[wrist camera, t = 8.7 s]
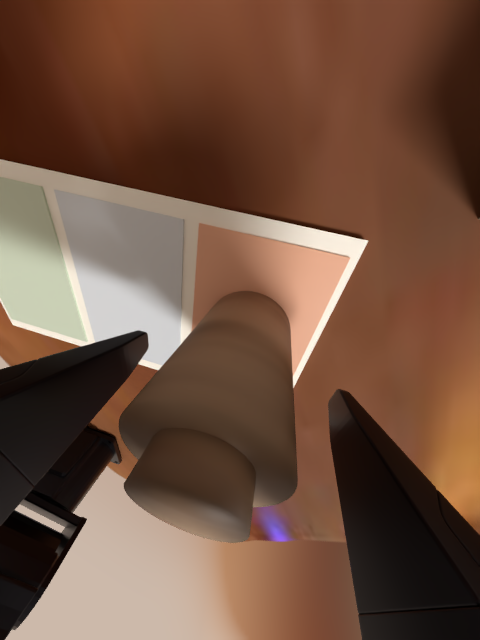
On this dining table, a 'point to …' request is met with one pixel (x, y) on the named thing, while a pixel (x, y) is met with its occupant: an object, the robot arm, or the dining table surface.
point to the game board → (153, 263)
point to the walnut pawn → (217, 423)
